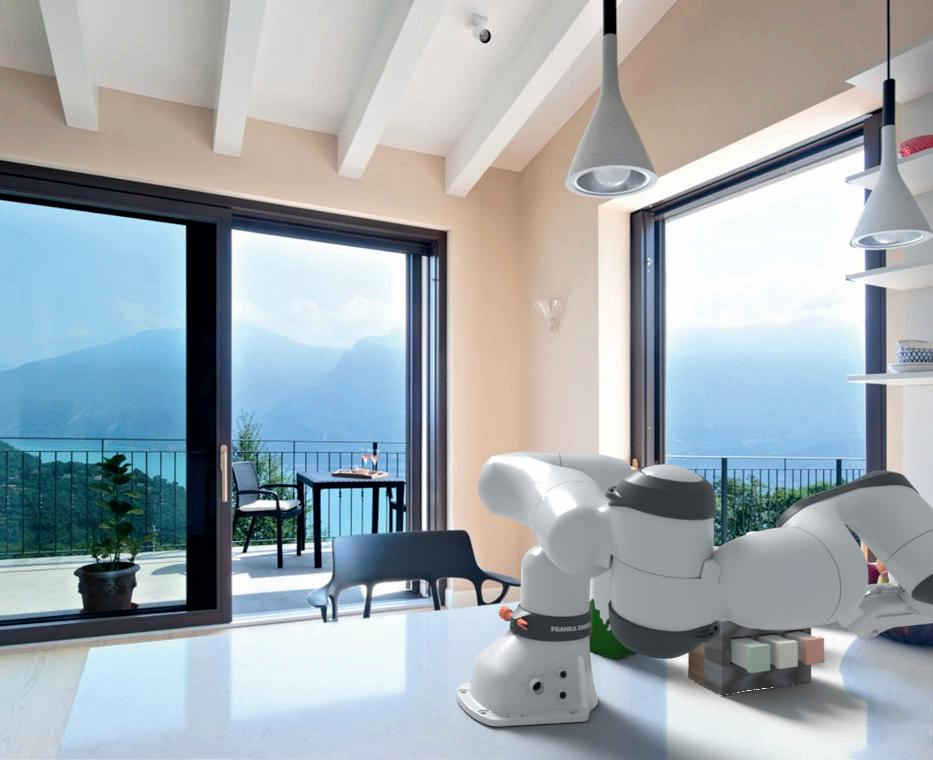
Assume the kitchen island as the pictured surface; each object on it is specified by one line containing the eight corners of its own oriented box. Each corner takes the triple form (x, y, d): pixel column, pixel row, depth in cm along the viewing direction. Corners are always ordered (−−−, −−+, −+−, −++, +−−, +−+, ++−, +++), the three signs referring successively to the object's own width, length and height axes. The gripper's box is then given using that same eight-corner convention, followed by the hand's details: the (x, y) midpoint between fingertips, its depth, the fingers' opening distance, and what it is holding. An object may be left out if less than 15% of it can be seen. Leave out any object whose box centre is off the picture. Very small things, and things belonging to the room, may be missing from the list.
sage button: (751, 673, 107) (751, 647, 107) (728, 662, 112) (729, 638, 112) (770, 670, 109) (770, 645, 109) (747, 660, 113) (747, 635, 113)
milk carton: (619, 662, 124) (620, 553, 125) (578, 649, 131) (581, 545, 132) (644, 652, 130) (645, 547, 131) (604, 640, 137) (606, 540, 138)
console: (721, 696, 110) (722, 621, 111) (688, 678, 117) (688, 608, 118) (811, 682, 117) (811, 612, 118) (774, 666, 125) (774, 600, 126)
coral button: (806, 665, 112) (806, 640, 112) (783, 655, 116) (783, 631, 116) (824, 662, 113) (824, 638, 113) (800, 653, 117) (800, 629, 118)
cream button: (779, 669, 109) (779, 643, 110) (756, 658, 114) (756, 634, 114) (797, 666, 111) (797, 641, 111) (774, 656, 115) (774, 632, 115)
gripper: (889, 608, 91) (826, 659, 99) (986, 599, 98) (920, 647, 107) (859, 568, 95) (801, 619, 103) (954, 562, 103) (893, 610, 111)
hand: (862, 633), depth 105 cm, fingers closed
